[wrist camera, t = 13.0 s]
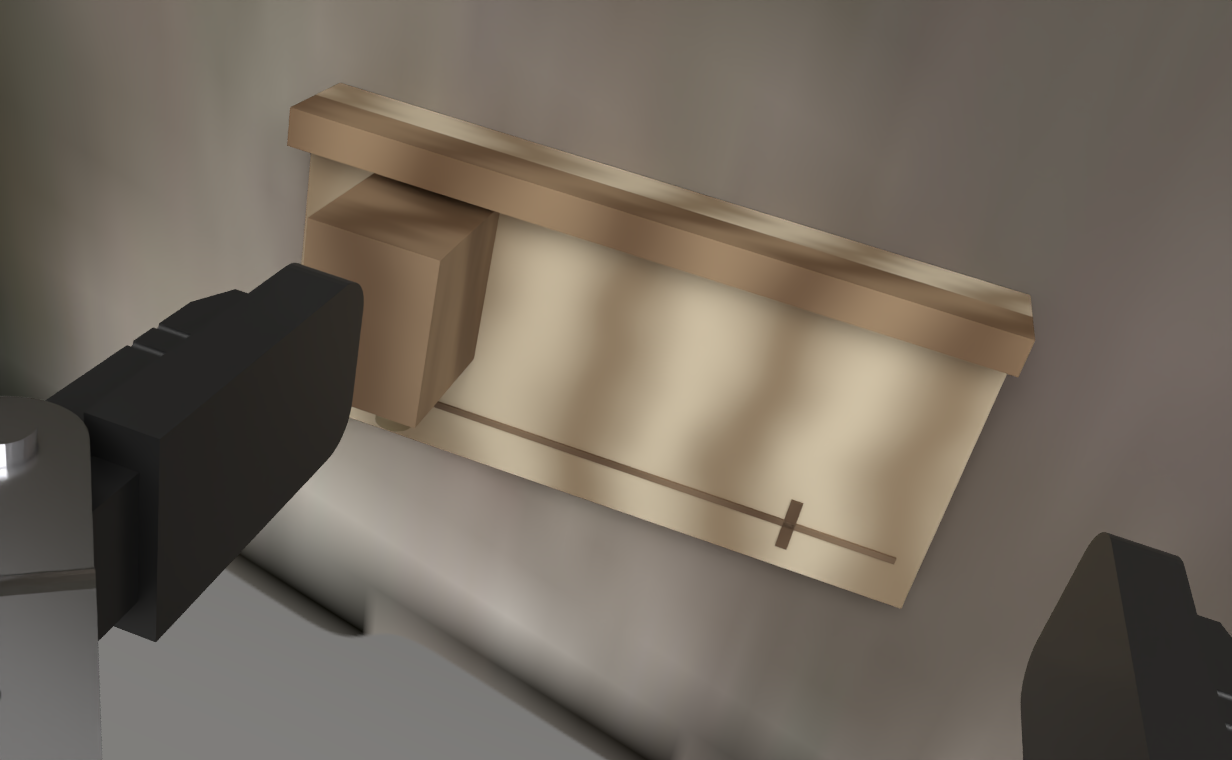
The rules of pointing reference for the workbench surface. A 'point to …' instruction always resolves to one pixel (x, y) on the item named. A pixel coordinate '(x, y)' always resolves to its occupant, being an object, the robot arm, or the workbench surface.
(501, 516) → the workbench surface
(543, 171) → the maple board
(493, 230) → the brown boxy piece
